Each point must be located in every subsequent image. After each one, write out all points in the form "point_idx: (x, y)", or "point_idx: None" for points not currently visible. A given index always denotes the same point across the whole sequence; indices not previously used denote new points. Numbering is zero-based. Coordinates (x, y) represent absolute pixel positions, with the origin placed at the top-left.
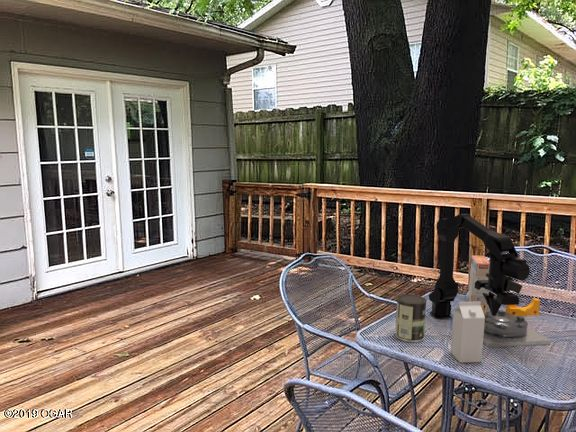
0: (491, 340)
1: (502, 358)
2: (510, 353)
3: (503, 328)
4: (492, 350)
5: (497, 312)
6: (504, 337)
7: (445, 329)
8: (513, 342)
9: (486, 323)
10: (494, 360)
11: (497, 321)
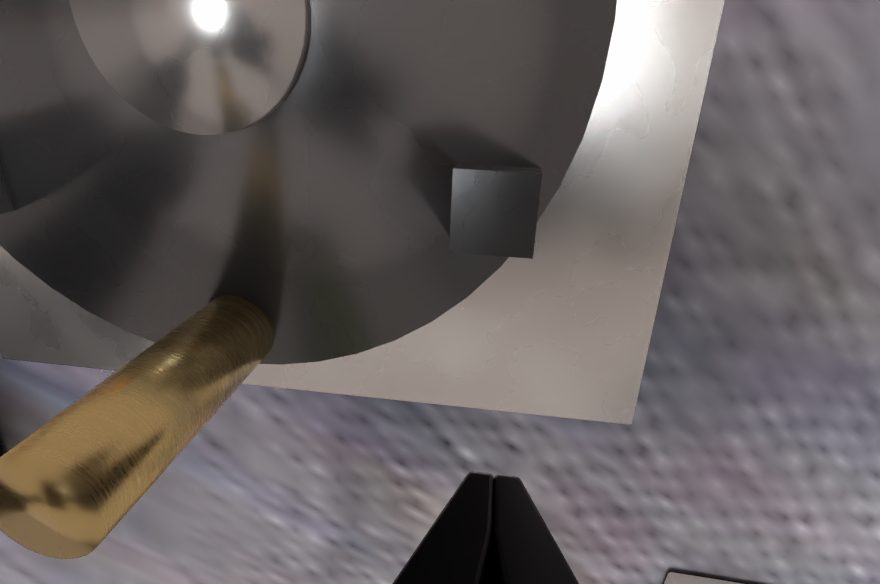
0: (580, 360)
1: (873, 416)
2: (819, 279)
3: (540, 215)
4: (692, 399)
5: (550, 533)
6: None
7: (222, 505)
8: (691, 134)
9: (335, 339)
10: (870, 496)
11: (264, 133)
